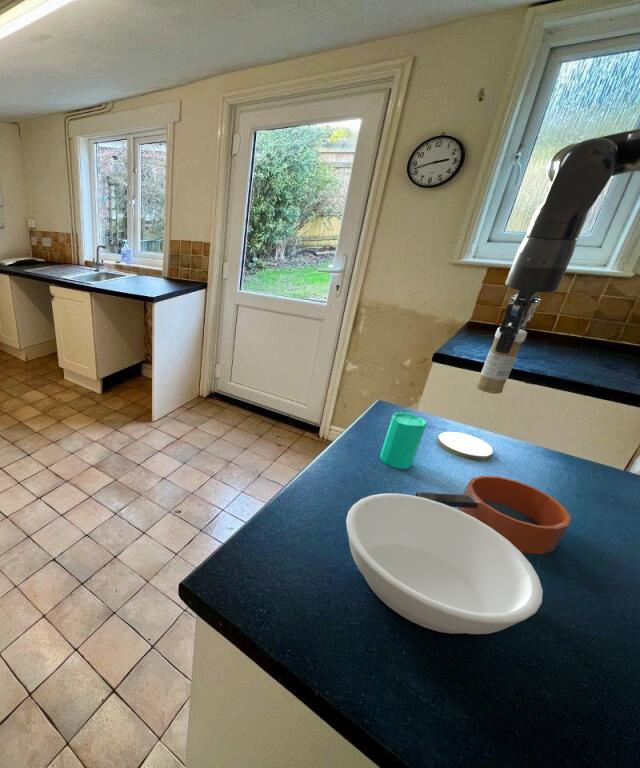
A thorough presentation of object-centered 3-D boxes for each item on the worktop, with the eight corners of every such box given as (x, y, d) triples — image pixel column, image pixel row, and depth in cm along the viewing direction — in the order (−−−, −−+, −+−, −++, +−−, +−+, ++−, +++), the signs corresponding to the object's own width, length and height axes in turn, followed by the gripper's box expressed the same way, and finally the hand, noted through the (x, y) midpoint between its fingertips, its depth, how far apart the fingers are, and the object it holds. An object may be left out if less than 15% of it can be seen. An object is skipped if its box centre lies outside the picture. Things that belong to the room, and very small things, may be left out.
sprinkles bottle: (496, 387, 89) (521, 327, 84) (505, 396, 86) (532, 334, 80) (471, 384, 91) (494, 325, 85) (479, 392, 87) (503, 331, 81)
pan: (516, 501, 78) (528, 477, 76) (578, 557, 66) (594, 531, 64) (393, 493, 80) (401, 470, 78) (431, 546, 68) (442, 521, 66)
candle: (417, 470, 87) (434, 420, 82) (386, 467, 88) (402, 418, 83) (404, 453, 92) (420, 406, 87) (375, 451, 93) (389, 404, 88)
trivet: (472, 436, 99) (474, 432, 98) (502, 461, 90) (504, 457, 89) (428, 434, 100) (429, 430, 99) (453, 458, 91) (455, 454, 90)
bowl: (338, 514, 75) (349, 477, 72) (494, 560, 66) (515, 520, 62) (329, 617, 57) (343, 574, 54) (542, 701, 48) (575, 656, 44)
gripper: (560, 270, 70) (520, 363, 78) (573, 261, 78) (536, 346, 86) (504, 265, 76) (472, 352, 83) (522, 257, 84) (491, 337, 91)
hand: (505, 348), depth 84 cm, fingers closed on sprinkles bottle, 4 cm apart
